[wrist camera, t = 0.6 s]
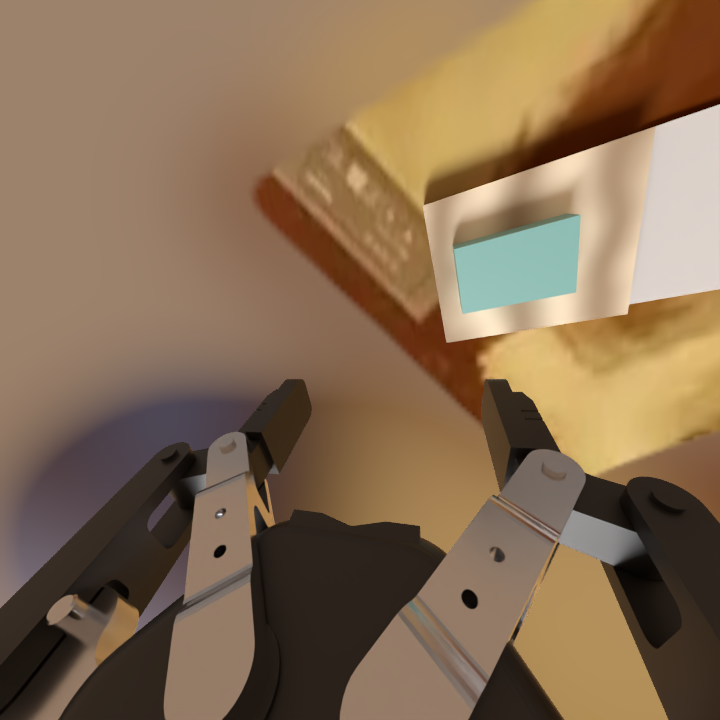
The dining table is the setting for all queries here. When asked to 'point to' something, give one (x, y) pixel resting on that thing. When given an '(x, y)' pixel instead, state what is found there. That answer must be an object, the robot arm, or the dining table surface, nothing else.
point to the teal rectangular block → (519, 264)
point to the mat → (681, 211)
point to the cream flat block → (543, 201)
